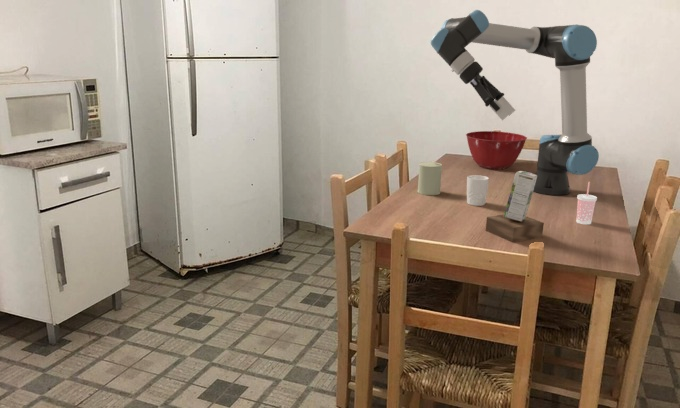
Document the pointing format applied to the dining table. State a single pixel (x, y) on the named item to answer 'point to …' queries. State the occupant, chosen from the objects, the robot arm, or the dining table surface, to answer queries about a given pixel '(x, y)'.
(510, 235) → the walnut block
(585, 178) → the dining table surface
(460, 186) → the dining table surface
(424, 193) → the can
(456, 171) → the dining table surface
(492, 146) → the mixing bowl
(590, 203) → the beverage cup
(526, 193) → the drink carton
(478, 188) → the white cup
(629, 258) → the dining table surface
